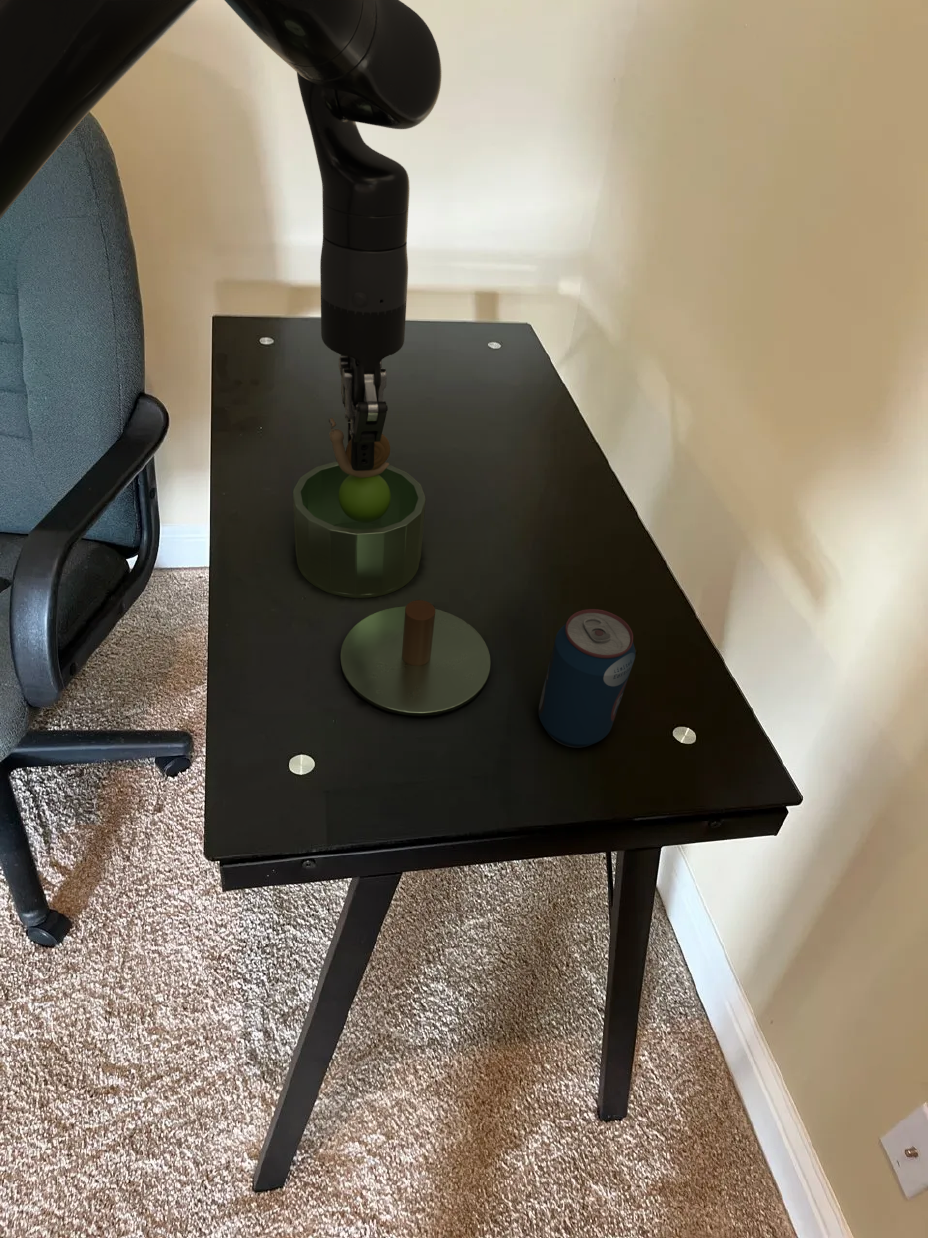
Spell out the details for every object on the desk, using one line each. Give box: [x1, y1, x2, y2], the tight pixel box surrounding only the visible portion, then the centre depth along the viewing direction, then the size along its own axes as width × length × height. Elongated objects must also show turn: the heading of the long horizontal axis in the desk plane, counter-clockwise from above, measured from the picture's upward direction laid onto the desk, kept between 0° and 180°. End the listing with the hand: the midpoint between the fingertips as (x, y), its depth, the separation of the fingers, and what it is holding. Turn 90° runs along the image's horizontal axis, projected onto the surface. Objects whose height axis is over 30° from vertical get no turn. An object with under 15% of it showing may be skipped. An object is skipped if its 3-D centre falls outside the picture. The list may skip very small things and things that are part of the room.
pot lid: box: [339, 599, 491, 717], centre depth 79 cm, size 15×15×7 cm
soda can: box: [537, 608, 636, 749], centre depth 73 cm, size 7×7×12 cm
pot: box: [292, 460, 427, 599], centre depth 89 cm, size 14×14×8 cm
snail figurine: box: [328, 417, 391, 523], centre depth 84 cm, size 5×6×12 cm
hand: (360, 461), depth 84 cm, fingers closed on snail figurine
